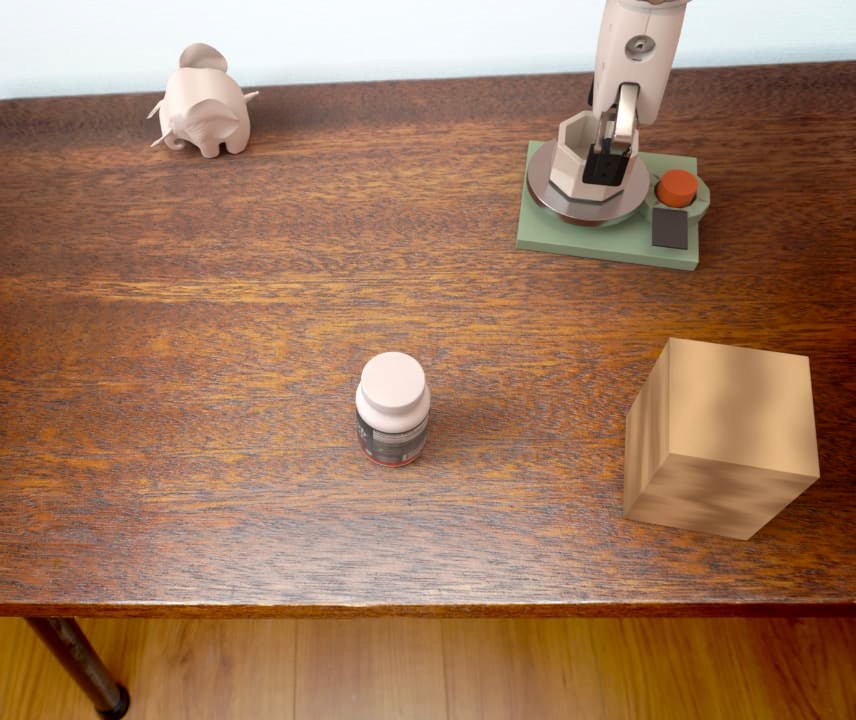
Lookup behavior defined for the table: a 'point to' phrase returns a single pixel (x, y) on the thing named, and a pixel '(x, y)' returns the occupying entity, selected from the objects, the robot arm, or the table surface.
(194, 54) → the elephant figurine
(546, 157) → the scale pan
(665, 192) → the tare button
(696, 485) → the stand
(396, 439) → the pill bottle
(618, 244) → the scale
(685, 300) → the table surface
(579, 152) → the bowl
